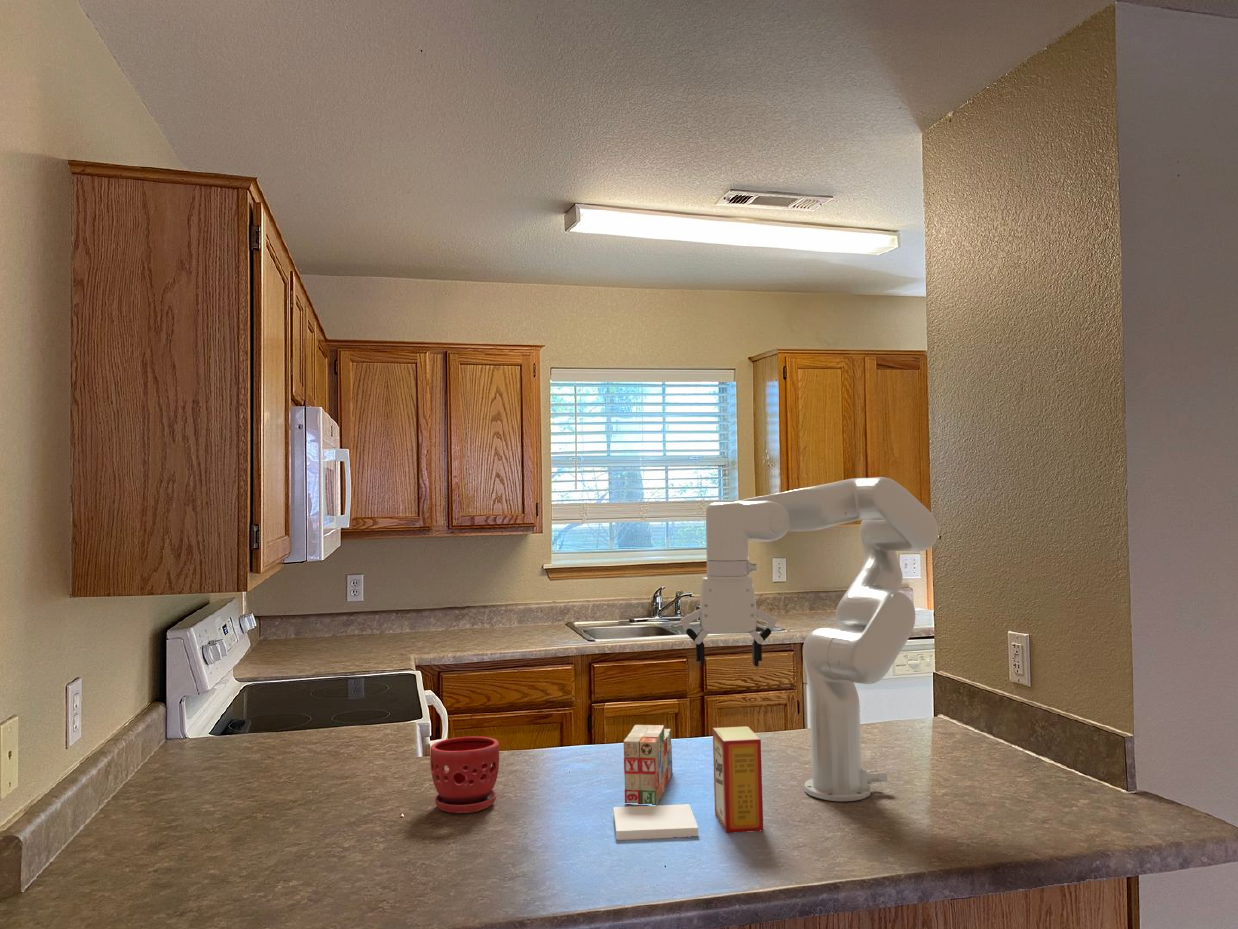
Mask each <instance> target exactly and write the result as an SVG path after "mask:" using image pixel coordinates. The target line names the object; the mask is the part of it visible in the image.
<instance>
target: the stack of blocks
mask: <svg viewBox="0 0 1238 929" xmlns="http://www.w3.org/2000/svg"><path fill="white" fill-rule="evenodd" d="M671 730H672V729H671V728H665V725H663V724H661V725H660V724H658V725H657V724H656V725H654V724H653V725H652V724H635V725H634V726H633V727H632V729H631V731H630V732H629V734H628V735H627V736H626V737H625V738H624V740H623V770H624V771H623V773H624V776H623V777H624V804H625V803H638V804H652V805H658V804H659V802H660V801H661V799H662V796H663V795H664V793H665V789H666V787H667V785H668V782H669V780H670V779H671V777H672V774H673V751H672V750H673V746H672V734H671V733H672V731H671ZM663 792H664V793H663ZM662 794H663V795H662ZM660 798H661V799H660ZM659 800H660V801H659ZM657 803H658V804H657Z"/></svg>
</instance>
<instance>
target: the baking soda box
mask: <svg viewBox="0 0 1238 929" xmlns="http://www.w3.org/2000/svg"><path fill="white" fill-rule="evenodd" d="M712 750H713V751H712V752H713V753H712V754H713V782H714V783H713V784H714V785H713V786H714V787H713V788H714V815H715V814H716V815H715V816H717V817H718V818H717V817H716V818H717V820H718V819H719V820H718V822H719V821H720V822H721V823H720V822H719V823H720V825H721V824H722V825H721V826H723V827H722V828H723V830H724V829H725V830H724V832H725V833H726V834H733V833H734V832H737V833H748V832H747V831H754V832H763V831H764V809H763V808H764V807H763V806H764V805H763V801H764V800H763V775H762V774H763V773H762V772H763V770H762V740H761V738H760V737H759V736H758V735H757V734H756V733H755V732H754V731H753V730H752V729H751V728H750V727H749V726H745V725H744V726H741V725H740V726H725V727H712ZM760 830H761V831H760ZM762 830H763V831H762ZM734 834H735V833H734Z"/></svg>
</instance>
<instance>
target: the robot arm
mask: <svg viewBox="0 0 1238 929" xmlns="http://www.w3.org/2000/svg"><path fill="white" fill-rule="evenodd" d="M857 521H861V522H860V525H859V536H860V540H861V546H862V551H863V563H862V566H861V569H860V571H859V572H858V573H857V575H856V577H855V578H854V579H853V581H852V583H851V584H850V586H848V589H847V590H846V592H845V593H844V595H843V596H842V598H841V599H840V601H839V603H838V605H837V607H836V610H835V619H836V622H837V625H838V626H839V627H840V628H837V627H829V626H828V627H820V628H816V629H814V630H813V631H811V632H809V634H808V635H807V636H806V638H805V640H804V642H803V646H802V660H803V664H804V667H805V668H804V669H805V673H806V677H807V684H808V693H809V694H808V695H809V724H810V726H809V727H810V752H811V753H810V754H811V758H810V759H811V778H810V779H807V780H806V781H805V782H804V783H803V785H804V786H803V787H804V792H805V793H806V794H807V795H809V796H811V797H814V798H817V799H820V800H823V801H829V802H830V801H832V802H855V801H860V800H864V799H867V798H868V797H870V796H871V793H872V787H871V785H872V783H887V782H888V774H887V772H886V771H877V770H876V769H865V768H864V767H863V766H862V765H863V764H862V742H861V741H862V738H861V736H862V735H861V705H860V698H859V693H858V690H857V688H856V685H855V684H861V685H873V684H876V683H878V682H880V681H881V680H882V679H883V678H884V677H885V676H886V675H887V674H888V672H889V671H890V669H892V666H893V664H894V663H895V661H896V660H897V658H898V656H899V655H900V653H901V651H902V650H903V648H904V646H905V645H906V643H907V642H908V640H909V639H910V636H911V635H912V632H913V630H914V627H915V624H916V608H915V606H914V603H913V601H912V600H911V598H910V597H909V596H908V595H907V594H905V593H903V592H901V591H899V590H901V589H900V588H901V587H902V583H903V580H904V579H903V571H902V568H901V565H900V562H899V558H898V556H897V553H896V552H914V553H915V552H916V553H917V552H925V551H927V550H929V549H931V548H932V547H933V546H934V545H935V544H936V542H937V540H938V538H939V525H938V523H937V520H936V518H935V516H934V515H933V514H932V512H931V511H930V510H929V509H928V508H927V507H926V506H925V505H924V504H923V503H922V502H921V501H919V499H917V498H916V497H915V495H913V494H912V493H911V492H910V491H909V490H908V489H907V488H905V487H904V486H902V485H901V484H900V483H899V482H897V481H895V480H893V479H892V478H890V477H884V476H877V477H856V478H848V479H844V480H843V479H842V480H838V481H834V482H829V483H825V484H824V483H823V484H819V485H814V486H808V487H803V488H798V489H793V490H788V491H784V492H778V493H772V494H768V495H767V494H766V495H761V496H754V497H750V498H745V499H739V500H735V501H732V502H729V501H727V502H726V501H725V502H718V501H717V502H712V503H709V504H708V505H707V507H706V509H705V527H706V528H705V534H706V535H705V536H706V537H705V538H706V543H705V544H706V548H705V549H706V577H702V580H701V585H700V595H699V597H700V598H699V609H696V610H695V611H693V612H691V613H689V614H687V615H685V616H683V617H681V618H680V620H679V621H680V624H681V626H682V627H683V630H684V632H685V633H686V635H687V636H688V637H689V638H690V639H691V640H692V641H693V642H694V644H695V660H696V662H699V666H700V668H701V667H702V668H704V667H705V666H706V662H705V654H706V652H705V643H704V640H705V639H706V637H707V636H708V635H710V634H711V635H712V634H714V635H715V634H716V635H719V634H720V635H721V634H722V635H723V634H724V635H726V634H727V635H729V634H730V635H733V634H734V635H735V634H736V635H737V634H739V635H742V634H749V635H750V636H751V637H752V638H753V642H752V643H751V644H752V645H751V646H752V648H751V649H752V651H751V652H752V664H753V666H754V667H759V664H760V663H759V662H762V661H763V658H762V657H763V653H762V652H763V651H762V649H763V647H762V644H763V643H764V642H765V640H767V638H768V637H770V635H771V634H772V632H773V630H774V628H775V625H776V624H777V620H778V619H777V618H776V617H774V616H772V615H769V614H768V613H766V612H764V611H763V610H760V609H758V608H757V602H756V601H757V600H756V594H755V585H754V581H753V577H749V575H750V573H752V572H757V563H752V562H750V561H749V542H763V543H764V542H774V541H777V540H780V539H781V538H783V537H784V536H785V535H786V534H787V533H788V532H811V531H819V530H823V529H829V528H832V527H835V526H840V525H842V524H848V523H853V522H857ZM758 618H759V619H761V620H762V621H765V623H766V625H765V627H764V628H763V629H762V630H761V631H760V632H758V631H757V627H758ZM697 619H699V626H700V630H699V631H697V632H698V633H697V632H696V631H694V629H692V627H691V625H690V624H691V622H693V621H695V620H697Z"/></svg>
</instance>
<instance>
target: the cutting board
mask: <svg viewBox="0 0 1238 929" xmlns="http://www.w3.org/2000/svg"><path fill="white" fill-rule="evenodd" d="M612 810H613V822H614V830H615V837H616V838H615V839H616V841H628V840H629V841H630V840H631V841H632V840H649V839H653V838H654V839H672V838H673V837H677V838H692V837H691V836H699V826H698V823H697V821H696V818H695V815H694V813H693V811H692V808H691V804H690V803H686V804H685V803H684V804H664V805H663V804H662V805H661V804H659V805H658V804H657V806H642V805H632V806H616V807H615V806H613V809H612ZM687 836H688V837H687Z"/></svg>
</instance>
